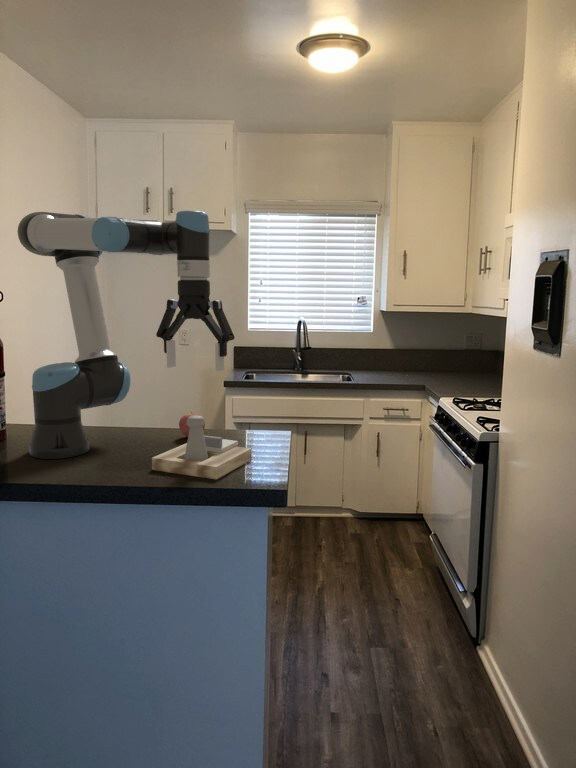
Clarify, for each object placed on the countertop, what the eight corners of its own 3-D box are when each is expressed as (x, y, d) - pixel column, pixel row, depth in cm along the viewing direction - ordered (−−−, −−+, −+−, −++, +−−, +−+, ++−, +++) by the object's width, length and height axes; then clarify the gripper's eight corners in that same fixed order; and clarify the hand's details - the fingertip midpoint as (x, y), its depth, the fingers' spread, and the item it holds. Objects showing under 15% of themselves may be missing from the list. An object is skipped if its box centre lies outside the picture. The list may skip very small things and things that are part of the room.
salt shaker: (197, 472, 151) (196, 420, 148) (179, 468, 154) (178, 417, 151) (213, 466, 156) (212, 415, 153) (195, 463, 159) (194, 412, 156)
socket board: (152, 469, 153) (151, 457, 152) (191, 451, 169) (191, 440, 168) (216, 479, 146) (216, 467, 145) (251, 459, 162) (251, 448, 161)
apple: (191, 442, 179) (191, 414, 177) (174, 438, 183) (173, 411, 182) (210, 437, 184) (210, 410, 183) (193, 433, 189) (192, 407, 188)
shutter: (193, 448, 160) (192, 435, 160) (210, 441, 168) (209, 428, 167) (222, 452, 157) (221, 439, 156) (238, 444, 165) (237, 431, 164)
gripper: (140, 278, 149) (142, 367, 152) (232, 279, 139) (233, 374, 142) (158, 278, 155) (160, 363, 159) (248, 279, 146) (248, 369, 149)
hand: (195, 368), depth 151 cm, fingers open, 13 cm apart
